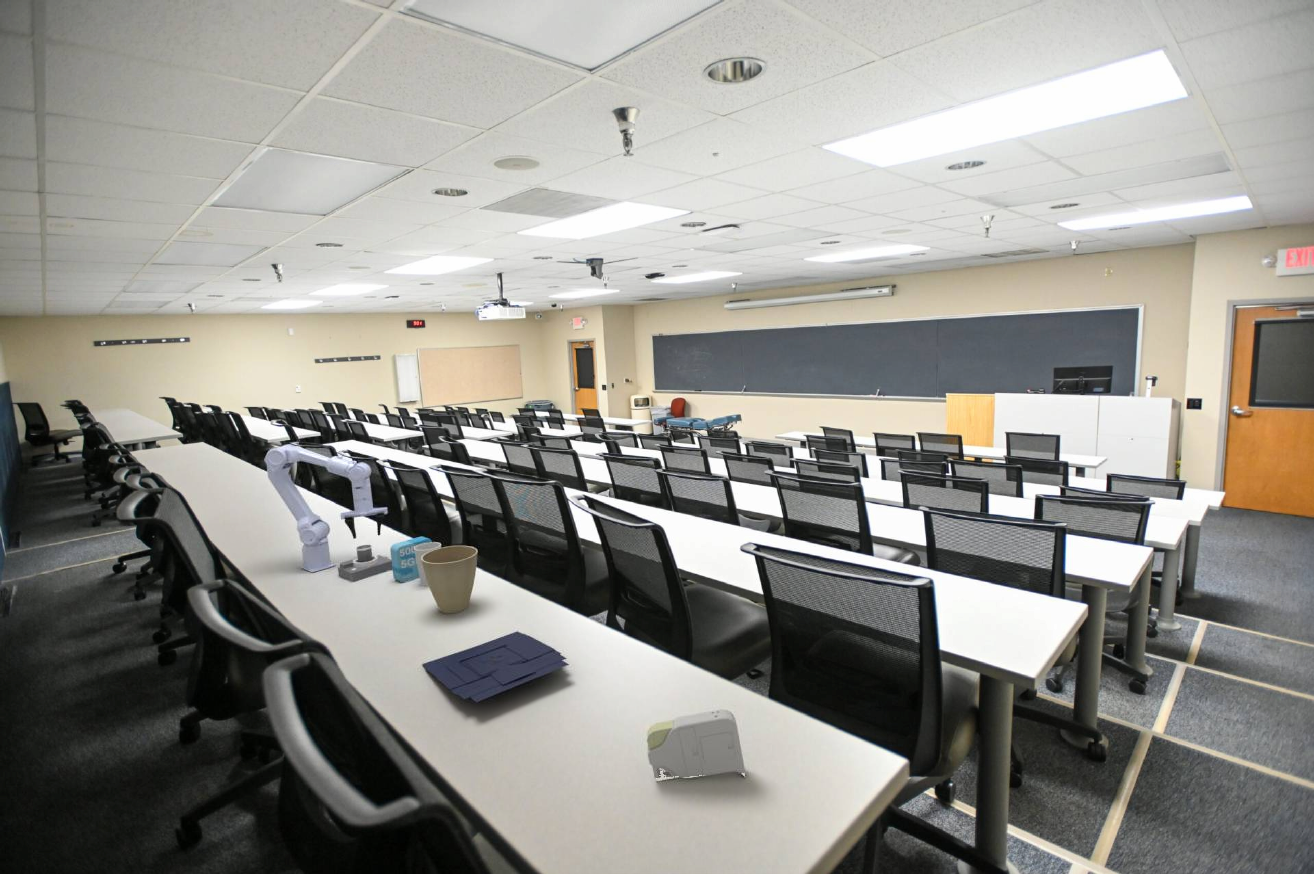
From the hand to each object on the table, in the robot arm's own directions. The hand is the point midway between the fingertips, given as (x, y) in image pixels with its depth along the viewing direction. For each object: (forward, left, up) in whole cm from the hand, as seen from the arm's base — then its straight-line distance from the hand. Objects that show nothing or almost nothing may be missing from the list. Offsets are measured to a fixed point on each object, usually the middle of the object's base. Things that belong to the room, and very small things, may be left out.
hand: (367, 536), depth 209 cm
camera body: (+8, -5, -10) cm, 14 cm away
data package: (+26, +2, -10) cm, 28 cm away
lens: (+8, -5, -7) cm, 12 cm away
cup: (+36, +2, -10) cm, 37 cm away
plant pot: (+60, -5, -10) cm, 61 cm away
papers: (+99, -20, -10) cm, 101 cm away
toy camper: (+154, -21, -10) cm, 156 cm away
